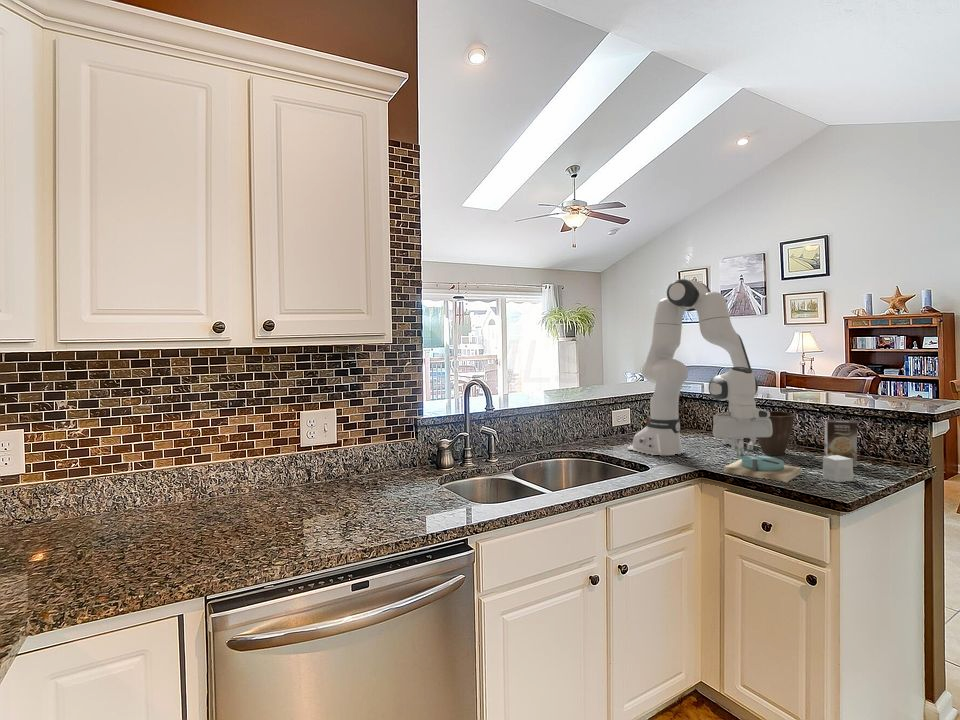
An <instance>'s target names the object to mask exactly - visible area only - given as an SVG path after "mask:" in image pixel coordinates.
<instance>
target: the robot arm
mask: <svg viewBox="0 0 960 720" xmlns="http://www.w3.org/2000/svg"><path fill="white" fill-rule="evenodd" d="M692 311H696V313H697V317H698V326H699V331H700V335H701V336H702V338H703V339H704V340H705V341H707V342H708V343H710V344H712V345H715V346H718V347H720V348H722V349H724V350H725V351H726V352H727V353H728V354H729V357H730V360H731V363H732V366H733V367H731V368H729V370H728V371H726V372H724V373H722V374H717V375H713V376H712V377H711V379H710V380H709V382H708V392H709V395H710V396H711V397H712V398H713V399H714V400H716V401H728V411H727V412H717V413H715V414H714V415H713V417H712V422H713V425H712V436H713V437H714V438H716V439H722V438H728V440H729V442H730V444H731V445H730V446H731V447H730V448H731V450H732V451H737V449H738V448H737V447H738V446H737V445H735V444H734V442H733V441H734V438H744V439H745V438H748V439H749V440H750V441H749V442H748V444H746V450H749V451H752V450H754V445H755V444H756V442H757V437H771V436H772V434H773V429H772V422H771V420H770V419H769V418H768V417H770V412H768V411H769V410H766V409H761V408H760V407H757V406H756V405H757V403H756V400H755V399H756V398H755V396H756V394H758V390H759V383H758V380H757V378H756V377H755V374H754V371H753V369H752V367H751V363H750V361H749V357H748V355H747V351H746V348H745V345H744V343H743V339H742V338H741V336H740V335H739V334H738V333H737V331H736V330H735V329H734V327H733V325H732V322H731V317H730V315H731V314H730V311H729V308H728V305H727V301H726V299H725V297H724V294H722V293H720V292H717V291H711V290H710V288H709V286H708V285H706V284H704V283H702V282H699V281H696V280H691V279H684V278H681V279H675V280H673V281H672V282H671V283H670V284H669V285H668V287H667V289H666V297H664V298H662V299H660V300H659V301H658V302H657V305H656V309H655V311H654V318H653V324H652V325H653V327H652V336H651V337H652V339H651V344H650V347H649V351H648V354H647V357H646V359H645V361H644V362H643V363H642V365H641V370H640V372H641V375H642V377H643V378H644V379H645V380H647V381H649V382H650V383H652V384H655V385H654V386H655V388H654V391H653V394H652V396H651V398H650V400H649V405H650V408H649V409H650V412H649V413H650V416H649V417H648V418H647V419H644V424H645V423H646V426H644V428H642V429H641V430H640V431H638V432H636V433H635V434H634V436H633V440H632V444H630V445H628V446H627V448H626V449H629V450H634V451H638V452H637V453H639V452H642V453H641V454H643V453H646V454H645V455H648V454H651V455H650V456H653V455H660V456H676V455H675V454H678V455H682V454H684V450H683V446H682V442H681V436H680V435H681V434H680V432H681V421H680V416H679V415H680V414H679V411H680V410H679V408H680V407H679V406H680V405H679V402H680V401H679V400H680V394H681V390H682V386H683V384H684V383H685V382H686V381H687V379H688V375H689V372H688V371H689V370H688V367H687V366H686V364H684V363H683V362H682V361H680V360H677V359H674V356H675V353H676V351H677V349H678V348H679V347H680V345H681V338H682V329H683V317H684V314H685V313H686V312H692ZM629 450H628V451H629ZM634 451H633V452H634ZM681 453H682V454H681Z"/></svg>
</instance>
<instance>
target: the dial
mask: <svg viewBox="0 0 960 720" xmlns="http://www.w3.org/2000/svg"><path fill="white" fill-rule="evenodd" d="M744 439H745V438H744ZM744 439H740V438H738V439H736V445H737V446H738V447H737V448H738V449H737V450H736V459H737V460H740V459H742V466H744V467H746V468H749V469H753V459H757V470H762V471H777V470H782V469H784V465H785V461H784V460H783V459H780V458H777V457H771V456H765V455H764V456H762V455H752V456H748V455H745V440H744Z"/></svg>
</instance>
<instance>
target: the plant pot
mask: <svg viewBox="0 0 960 720" xmlns="http://www.w3.org/2000/svg"><path fill="white" fill-rule="evenodd" d="M767 411H768V412H770V417H768V418H769V419H770V420H771V422H772V429H773V434H772V436H771V437H756V439H757V441H758V444H759V446H760V449H761V451H762V453H763V454H764V455H768V454H769V455H770V456H782V455H784V454H785V452H786V450H787V449H788V445H789V443H790V439H791V435H792V432H793V427H794V420H795V413H792V412H788V411H779V410H778V411H775V410H772V411H771V410H767ZM769 455H768V456H769Z"/></svg>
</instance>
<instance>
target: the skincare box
mask: <svg viewBox="0 0 960 720" xmlns="http://www.w3.org/2000/svg"><path fill="white" fill-rule="evenodd" d="M822 478H823V479H826V480H828V481H832V482H835V483H845V482H846V481H847V482H853V481H854V468H853V459H851V458H847V457H843V456H839V455H833V456H824V455H822Z"/></svg>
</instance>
